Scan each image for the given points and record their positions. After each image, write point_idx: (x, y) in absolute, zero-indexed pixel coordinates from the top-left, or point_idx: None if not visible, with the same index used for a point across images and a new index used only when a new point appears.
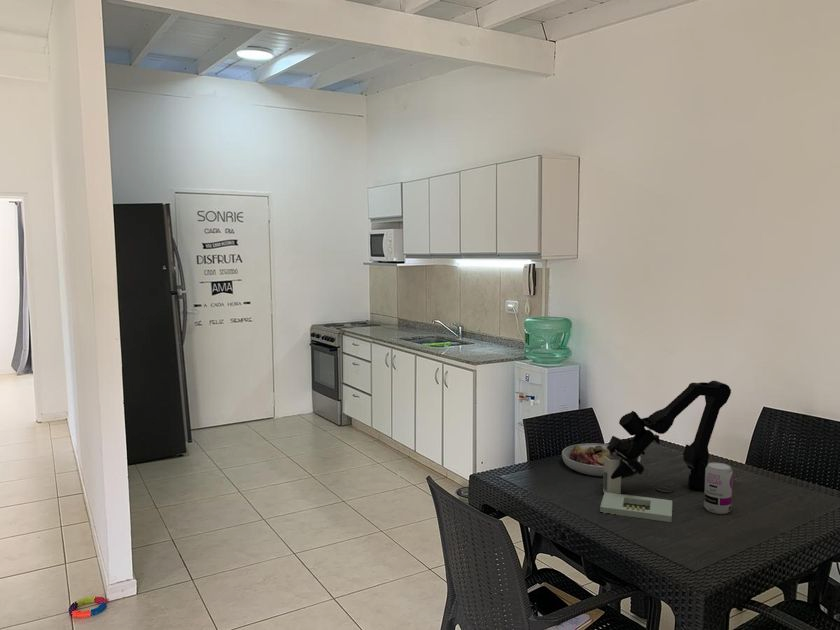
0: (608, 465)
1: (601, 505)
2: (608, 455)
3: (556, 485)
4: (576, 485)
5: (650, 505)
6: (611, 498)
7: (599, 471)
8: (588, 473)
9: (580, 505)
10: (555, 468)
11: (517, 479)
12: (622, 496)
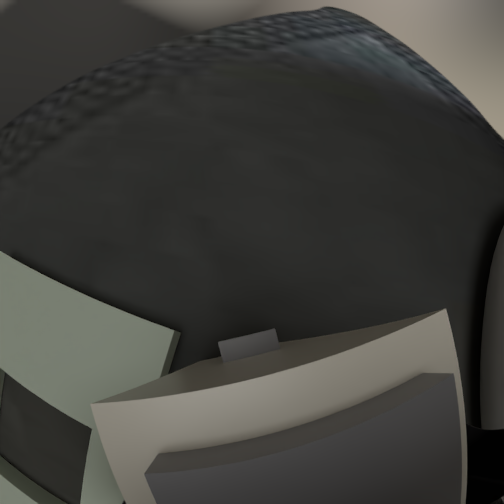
0: (173, 381)
1: (2, 257)
2: (436, 434)
3: (339, 128)
4: (362, 209)
5: (23, 494)
6: (68, 342)
7: (490, 335)
8: (487, 286)
9: (87, 185)
10: (494, 179)
11: (358, 53)
12: None
